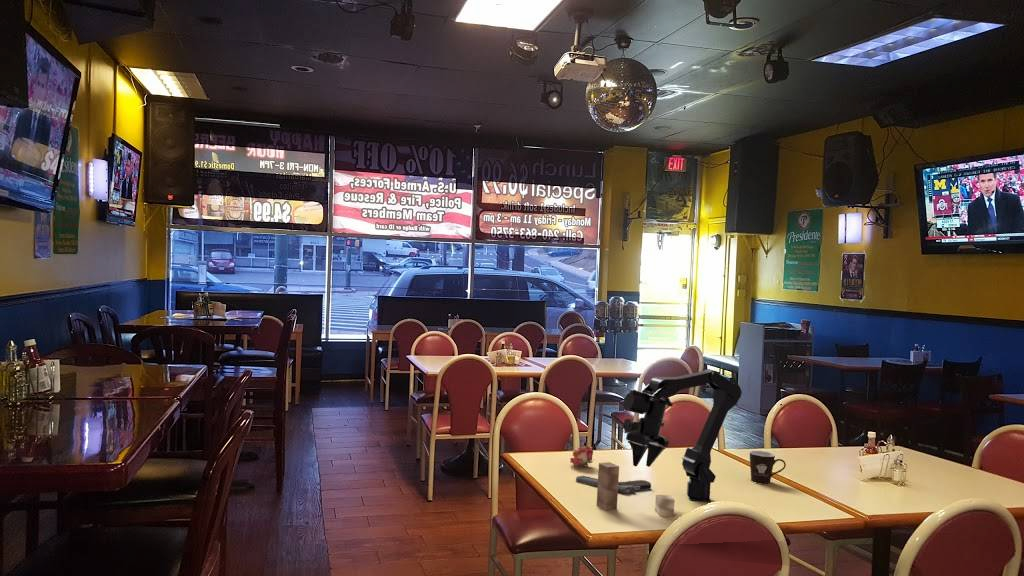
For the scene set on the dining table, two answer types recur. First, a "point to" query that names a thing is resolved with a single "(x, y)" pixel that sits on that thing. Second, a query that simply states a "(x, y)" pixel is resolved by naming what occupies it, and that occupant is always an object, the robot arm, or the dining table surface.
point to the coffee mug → (762, 466)
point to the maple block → (664, 505)
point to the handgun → (619, 484)
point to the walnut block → (607, 486)
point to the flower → (582, 456)
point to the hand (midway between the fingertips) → (641, 466)
